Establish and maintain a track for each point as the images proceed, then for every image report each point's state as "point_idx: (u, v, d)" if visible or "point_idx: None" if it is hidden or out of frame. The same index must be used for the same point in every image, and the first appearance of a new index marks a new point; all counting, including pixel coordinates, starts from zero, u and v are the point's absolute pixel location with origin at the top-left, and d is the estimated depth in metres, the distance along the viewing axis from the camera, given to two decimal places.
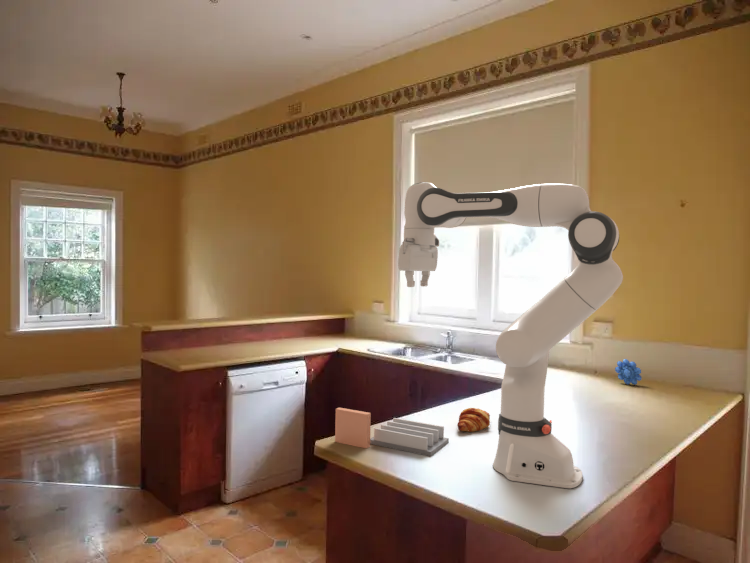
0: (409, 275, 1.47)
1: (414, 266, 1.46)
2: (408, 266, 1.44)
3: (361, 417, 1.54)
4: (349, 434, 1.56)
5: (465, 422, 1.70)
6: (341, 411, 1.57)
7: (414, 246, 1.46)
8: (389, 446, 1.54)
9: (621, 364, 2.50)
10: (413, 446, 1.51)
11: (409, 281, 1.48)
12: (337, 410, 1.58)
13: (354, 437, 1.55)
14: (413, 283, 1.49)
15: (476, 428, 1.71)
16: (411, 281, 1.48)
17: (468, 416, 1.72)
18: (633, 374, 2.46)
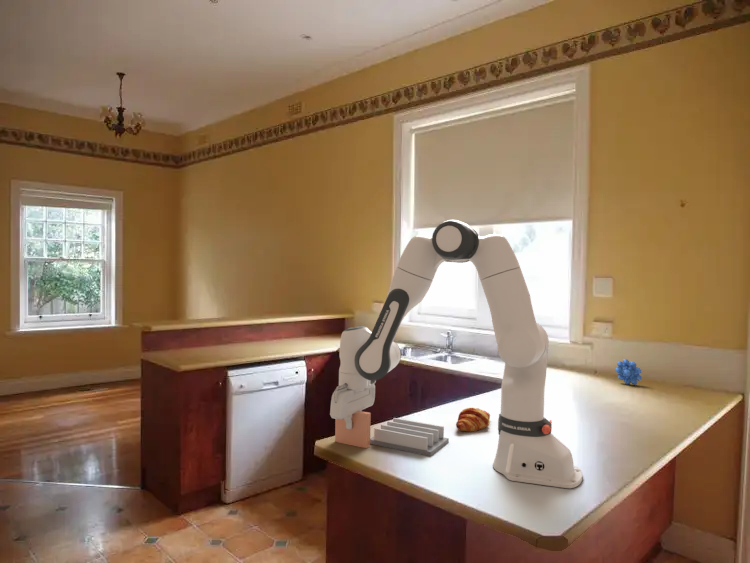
0: (347, 418, 1.53)
1: (346, 413, 1.50)
2: (339, 416, 1.47)
3: (361, 417, 1.54)
4: (349, 434, 1.56)
5: (464, 422, 1.70)
6: None
7: (346, 394, 1.49)
8: (389, 446, 1.54)
9: (621, 364, 2.50)
10: (413, 446, 1.51)
11: (348, 423, 1.54)
12: None
13: (354, 437, 1.55)
14: (352, 425, 1.54)
15: (475, 428, 1.71)
16: (349, 423, 1.54)
17: (467, 416, 1.72)
18: (633, 374, 2.46)
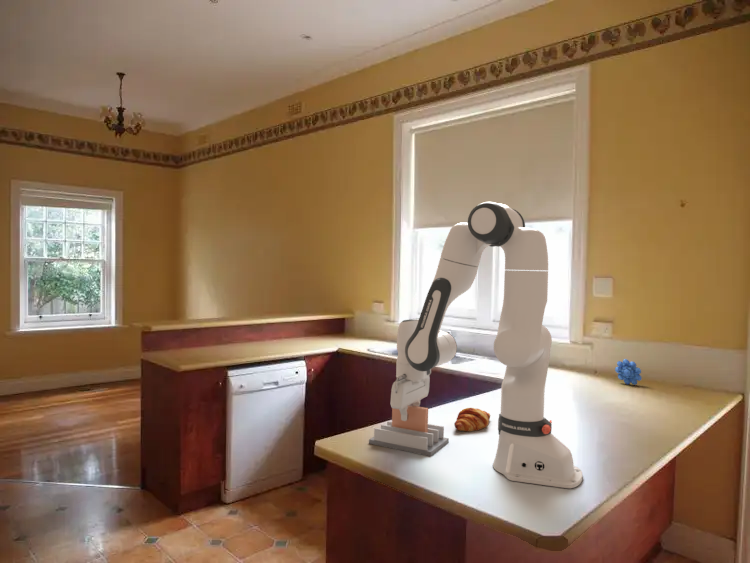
0: (403, 410, 1.54)
1: (406, 403, 1.52)
2: (400, 406, 1.49)
3: (419, 412, 1.56)
4: None
5: (462, 422, 1.70)
6: None
7: (405, 384, 1.51)
8: (389, 446, 1.54)
9: (621, 364, 2.50)
10: (413, 446, 1.51)
11: (403, 415, 1.54)
12: None
13: None
14: (407, 417, 1.55)
15: (473, 428, 1.71)
16: (405, 415, 1.54)
17: (466, 416, 1.73)
18: (633, 374, 2.46)
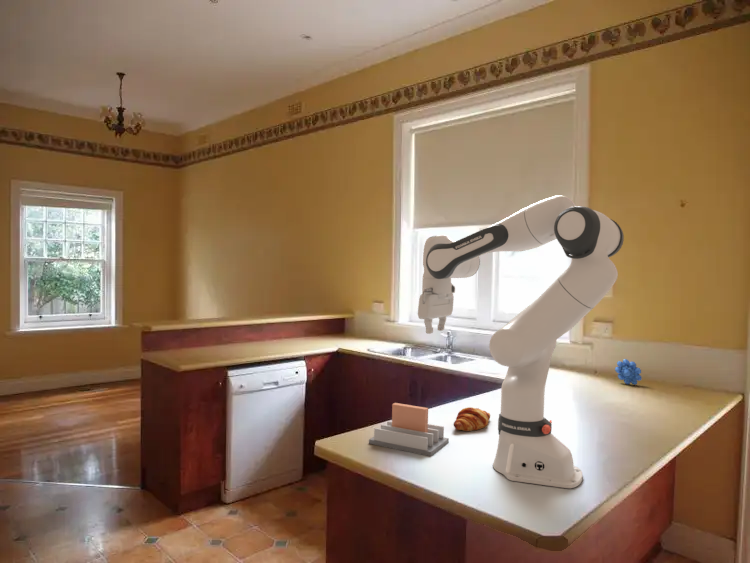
0: (428, 323, 1.58)
1: (433, 314, 1.57)
2: (427, 316, 1.54)
3: (419, 412, 1.56)
4: None
5: (461, 421, 1.71)
6: (398, 406, 1.59)
7: (432, 296, 1.56)
8: (389, 446, 1.54)
9: (621, 364, 2.50)
10: (413, 446, 1.51)
11: (428, 328, 1.59)
12: (394, 405, 1.60)
13: None
14: (432, 330, 1.59)
15: (472, 427, 1.71)
16: (430, 328, 1.59)
17: (465, 415, 1.73)
18: (633, 374, 2.46)
